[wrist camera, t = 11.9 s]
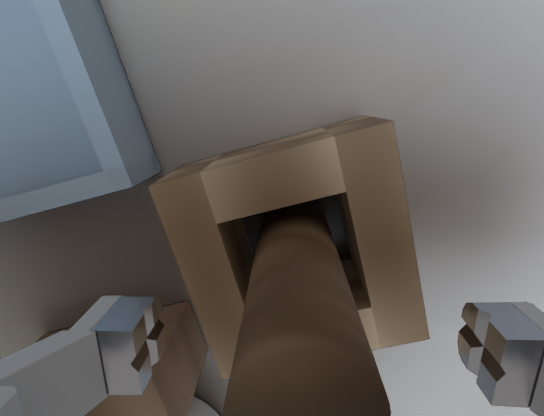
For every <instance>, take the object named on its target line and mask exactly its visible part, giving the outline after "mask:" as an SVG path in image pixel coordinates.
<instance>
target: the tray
mask: <svg viewBox="0 0 544 416" xmlns="http://www.w3.org/2000/svg"><path fill="white" fill-rule="evenodd" d="M160 171H161V168H160V165H159V163H158V160H157V157H156V155H155V152H154V149H153V146H152V144H151V141H150V138H149V135H148V133H147V130H146V127H145V125H144V122H143V119H142V116H141V114H140V111H139V108H138V106H137V103H136V100H135V97H134V95H133V92H132V89H131V87H130V84H129V81H128V78H127V76H126V73H125V70H124V68H123V65H122V62H121V59H120V57H119V54H118V51H117V49H116V46H115V43H114V40H113V38H112V35H111V32H110V30H109V27H108V24H107V21H106V19H105V16H104V13H103V11H102V8H101V5H100V2H99V0H0V223H1V222H5V221H8V220H12V219H16V218H19V217H23V216H27V215H31V214H34V213H38V212H42V211H45V210H49V209H53V208H57V207H60V206H64V205H68V204H71V203H75V202H79V201H83V200H86V199H90V198H94V197H97V196H101V195H105V194H108V193H112V192H116V191H120V190H123V189H127V188H131V187H134V186H135V185H137V184H139V183H141V182H142V181H144V180H146V179H148V178H150V177H151V176H153V175H155V174H157V173H159V172H160Z"/></svg>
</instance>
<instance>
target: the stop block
mask: <svg viewBox="0 0 544 416" xmlns="http://www.w3.org/2000/svg"><path fill="white" fill-rule="evenodd" d="M162 308H163V312H162V314H161V315H160V317H159V320H160V321H161V322H162V323H163V324H164V325H165V345H164V349H163V353H162V355H161V357H160V360H159V361H158V362H157V363H155V364H154V365H153V366H151V368H152V376H151V378H150V380H149V382H148V384H147V386H146V388H145V389H144V391H143V393H142V395H107V397H106V398H105V399H104V400H103V401H102V402H100V403H99V404H98V405H97V406H95V407H94V408H93V409H92V410H91V411H89V412H88V413H87V414H86V415H84V416H187V415H188V411H189V408H190V405H191V402H192V399H193V396H194V392H195V389H196V386H197V383H198V380H199V376H200V373H201V370H202V367H203V364H204V361H205V357H206V354H207V351H208V349H207V347H206V344H205V341H204V339H203V336H202V334H201V331H200V329H199V326H198V323H197V321H196V318H195V316H194V313H193V310H192V308H191V305H190V303H189V301H186V302H182V303H177V304H173V305H168V306H164V307H162ZM70 328H71V327H70ZM70 328H66V329H61V330H57V331H52V332H48V333H45V334H44V335H43V336H42V337H41V338H40V339H39V340H38V341H40V340H43V339H45V338H47V337H49V336H51V335H54V334H56V333H58V332H60V331H68V330H69V329H70ZM38 341H37V342H38Z"/></svg>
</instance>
